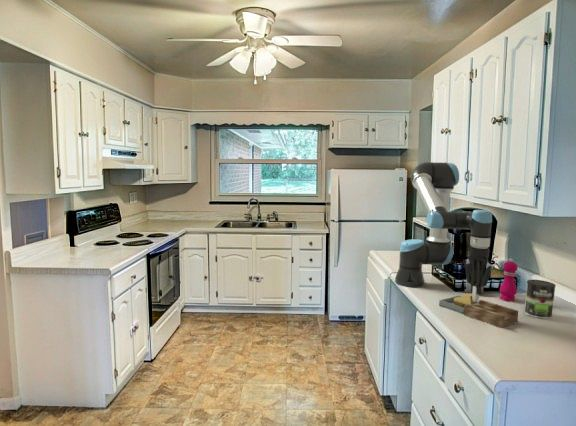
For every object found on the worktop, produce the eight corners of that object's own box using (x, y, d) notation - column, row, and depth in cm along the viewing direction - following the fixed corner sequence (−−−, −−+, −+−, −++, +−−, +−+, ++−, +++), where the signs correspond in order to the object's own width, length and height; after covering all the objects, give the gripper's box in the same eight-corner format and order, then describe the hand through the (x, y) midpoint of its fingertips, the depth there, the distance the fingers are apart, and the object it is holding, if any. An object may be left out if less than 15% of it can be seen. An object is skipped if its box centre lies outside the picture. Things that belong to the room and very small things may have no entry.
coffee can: (555, 320, 167) (558, 287, 165) (526, 316, 170) (529, 284, 169) (548, 312, 176) (551, 281, 175) (522, 309, 180) (524, 278, 178)
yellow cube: (462, 303, 176) (461, 294, 176) (467, 302, 178) (466, 293, 178) (470, 304, 172) (469, 295, 172) (476, 303, 174) (475, 293, 175)
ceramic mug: (483, 296, 197) (484, 280, 197) (465, 294, 200) (466, 278, 200) (481, 290, 207) (482, 276, 206) (464, 288, 210) (465, 274, 209)
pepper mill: (512, 302, 188) (516, 260, 186) (496, 298, 194) (499, 258, 191) (518, 299, 193) (522, 258, 191) (502, 296, 198) (505, 256, 196)
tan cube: (461, 309, 176) (453, 307, 179) (467, 307, 178) (459, 305, 181) (461, 300, 176) (453, 298, 179) (467, 298, 178) (459, 296, 181)
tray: (439, 305, 182) (439, 300, 182) (457, 300, 190) (458, 295, 190) (463, 313, 172) (463, 308, 172) (482, 308, 180) (482, 302, 180)
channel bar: (464, 315, 171) (464, 304, 170) (480, 310, 177) (481, 299, 177) (501, 328, 158) (502, 316, 157) (517, 322, 164) (518, 310, 164)
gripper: (460, 244, 173) (456, 297, 176) (489, 250, 163) (484, 307, 165) (470, 243, 177) (466, 295, 180) (499, 248, 167) (494, 303, 170)
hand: (475, 300), depth 173 cm, fingers closed
